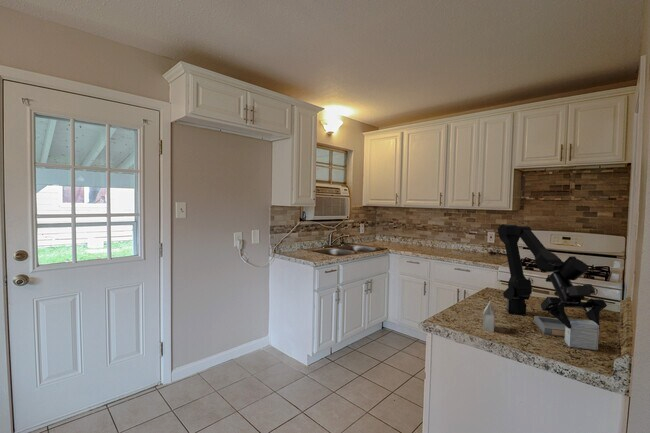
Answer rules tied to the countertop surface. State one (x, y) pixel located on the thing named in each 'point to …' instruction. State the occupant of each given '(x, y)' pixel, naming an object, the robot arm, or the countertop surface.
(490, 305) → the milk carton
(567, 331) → the medicine box
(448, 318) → the countertop surface
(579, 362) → the countertop surface
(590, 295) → the robot arm
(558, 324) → the tray
